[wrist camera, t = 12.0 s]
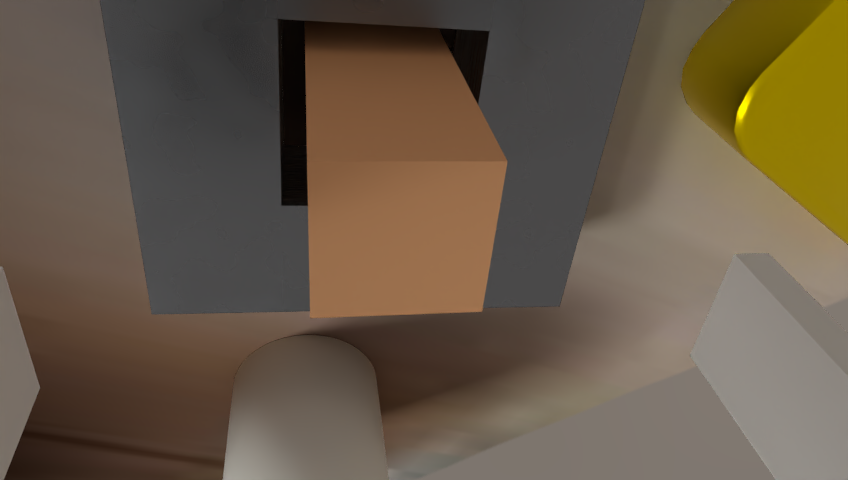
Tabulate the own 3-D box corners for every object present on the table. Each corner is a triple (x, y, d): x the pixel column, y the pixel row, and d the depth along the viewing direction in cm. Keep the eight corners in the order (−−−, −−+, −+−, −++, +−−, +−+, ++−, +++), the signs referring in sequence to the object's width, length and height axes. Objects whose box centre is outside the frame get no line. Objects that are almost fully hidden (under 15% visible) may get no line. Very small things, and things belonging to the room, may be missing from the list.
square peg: (306, 126, 23) (310, 318, 15) (304, 8, 21) (307, 161, 13) (420, 127, 24) (482, 311, 16) (430, 13, 22) (508, 161, 14)
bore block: (171, 243, 25) (151, 314, 22) (111, -203, 17) (67, -195, 14) (529, 243, 28) (559, 306, 24) (619, -147, 20) (681, -130, 17)
